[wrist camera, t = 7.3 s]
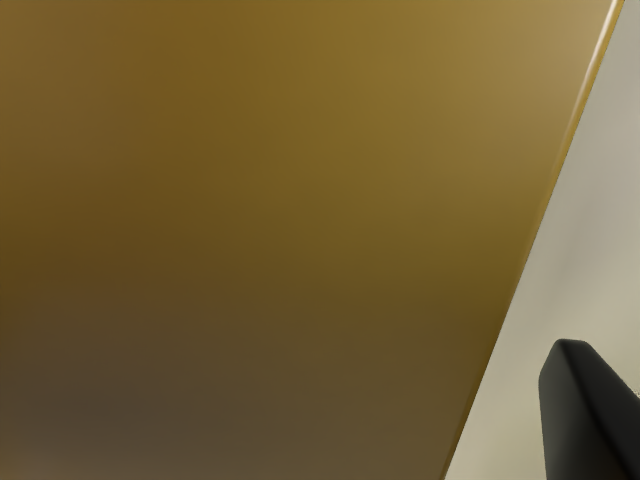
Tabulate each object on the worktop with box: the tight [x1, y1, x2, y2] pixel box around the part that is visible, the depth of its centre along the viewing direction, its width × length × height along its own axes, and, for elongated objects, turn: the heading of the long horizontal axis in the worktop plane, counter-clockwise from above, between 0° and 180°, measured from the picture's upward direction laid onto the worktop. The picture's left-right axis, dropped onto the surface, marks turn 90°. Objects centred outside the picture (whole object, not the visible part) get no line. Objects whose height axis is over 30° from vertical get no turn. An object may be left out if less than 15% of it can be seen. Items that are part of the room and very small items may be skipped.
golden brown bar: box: [0, 0, 625, 480], centre depth 8 cm, size 4×13×4 cm, turn 177°
